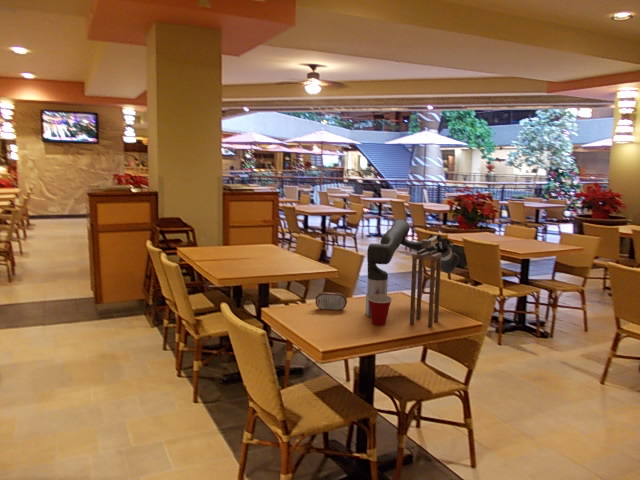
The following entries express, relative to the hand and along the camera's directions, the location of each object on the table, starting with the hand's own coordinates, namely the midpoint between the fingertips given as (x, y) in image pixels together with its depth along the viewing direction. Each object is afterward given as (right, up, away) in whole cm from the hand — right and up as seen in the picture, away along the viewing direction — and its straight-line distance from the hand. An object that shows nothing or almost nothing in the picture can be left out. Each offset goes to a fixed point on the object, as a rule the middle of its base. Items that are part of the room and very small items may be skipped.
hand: (434, 236), depth 238 cm
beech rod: (-2, -4, -3) cm, 5 cm away
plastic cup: (-26, -39, -6) cm, 47 cm away
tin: (-46, -35, +15) cm, 60 cm away
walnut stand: (-5, -38, -3) cm, 39 cm away
